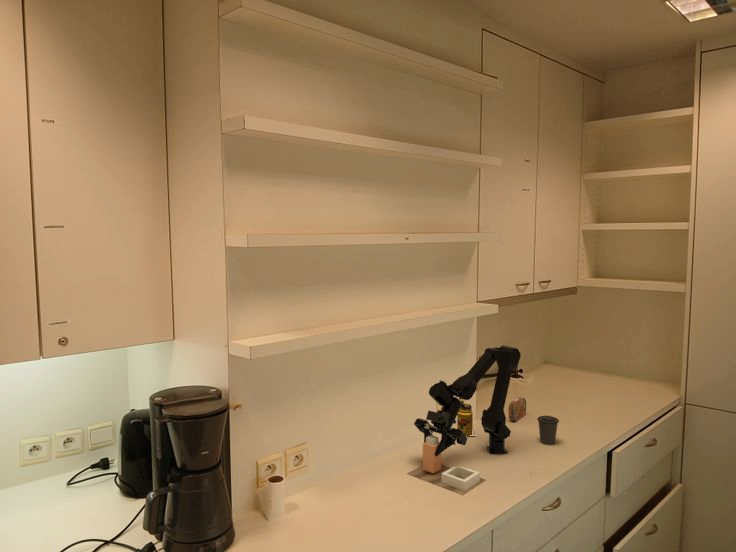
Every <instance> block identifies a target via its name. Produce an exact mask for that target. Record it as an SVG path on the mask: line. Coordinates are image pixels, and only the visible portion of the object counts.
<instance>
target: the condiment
mask: <svg viewBox="0 0 736 552" xmlns="http://www.w3.org/2000/svg"><path fill="white" fill-rule="evenodd" d="M464 405H465V409H460V410H459V412H458V414H457V416H456V419H457V420H456V421H457V422H456V424H457V425H456V427H457V428H456V429H459V430H462V432H463V433H464V434H465V435H466V436H470V435H472V430H474V429H473V420H474V419H473V418H474V417H473V410H472V405H471V404H469V403H464Z"/></svg>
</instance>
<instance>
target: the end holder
mask: <svg viewBox="0 0 736 552" xmlns="http://www.w3.org/2000/svg"><path fill="white" fill-rule="evenodd" d="M457 476H460V477H462V478H465V479H461V478H458V477H457ZM480 478H481V472H480V471H475V470H473V469H470V468H467V467H464V466H461V465H458V464H456V465H453V467H451V468H450V469H449V470H447V471H445V472H443V473H442V475H441V483H444V484H447V485H449V486H452V487H455V488H457V489H460V490H463V491H466V490H468V489H469V488H471V487H472V486H474V485H476V484H477V483H479V482H480Z"/></svg>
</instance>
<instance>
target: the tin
mask: <svg viewBox="0 0 736 552" xmlns="http://www.w3.org/2000/svg"><path fill="white" fill-rule="evenodd" d="M526 412H527V400H526V399H525V398H524V397H516V398H515V399H514V400H512V401H510V403H509V405H508V419H509V420H510V421H513V422H518V421H520V420H521V419H522V418H523V417H525V415H526Z"/></svg>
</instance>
